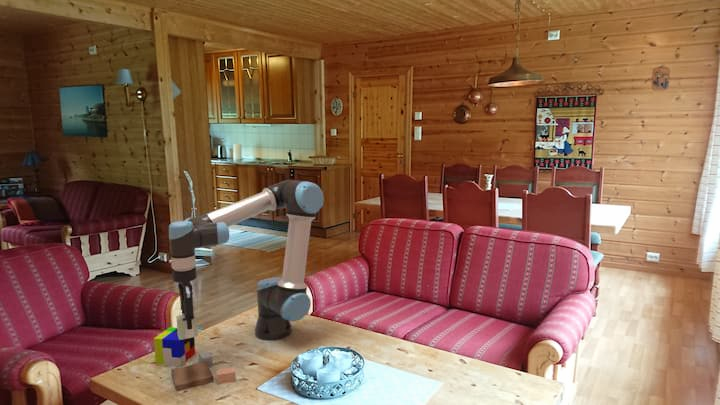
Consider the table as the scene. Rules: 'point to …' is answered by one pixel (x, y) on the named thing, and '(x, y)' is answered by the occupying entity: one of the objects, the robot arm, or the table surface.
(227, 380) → the terracotta brick
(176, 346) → the puzzle toy
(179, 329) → the sage brick
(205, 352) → the grey brick
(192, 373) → the walnut slab
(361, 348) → the table surface
